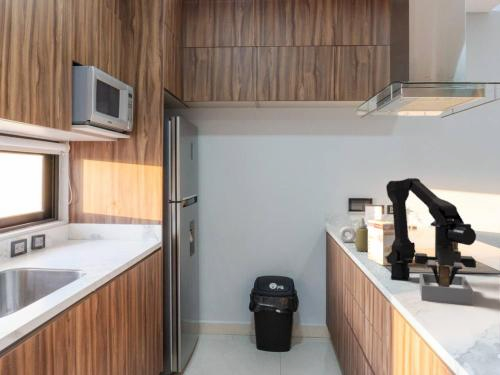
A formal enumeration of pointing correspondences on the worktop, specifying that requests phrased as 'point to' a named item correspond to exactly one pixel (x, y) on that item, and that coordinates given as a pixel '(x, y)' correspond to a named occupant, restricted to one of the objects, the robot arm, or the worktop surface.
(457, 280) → the box
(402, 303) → the worktop surface
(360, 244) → the squeeze bottle
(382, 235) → the coffeecake box
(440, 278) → the peg
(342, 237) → the donut
